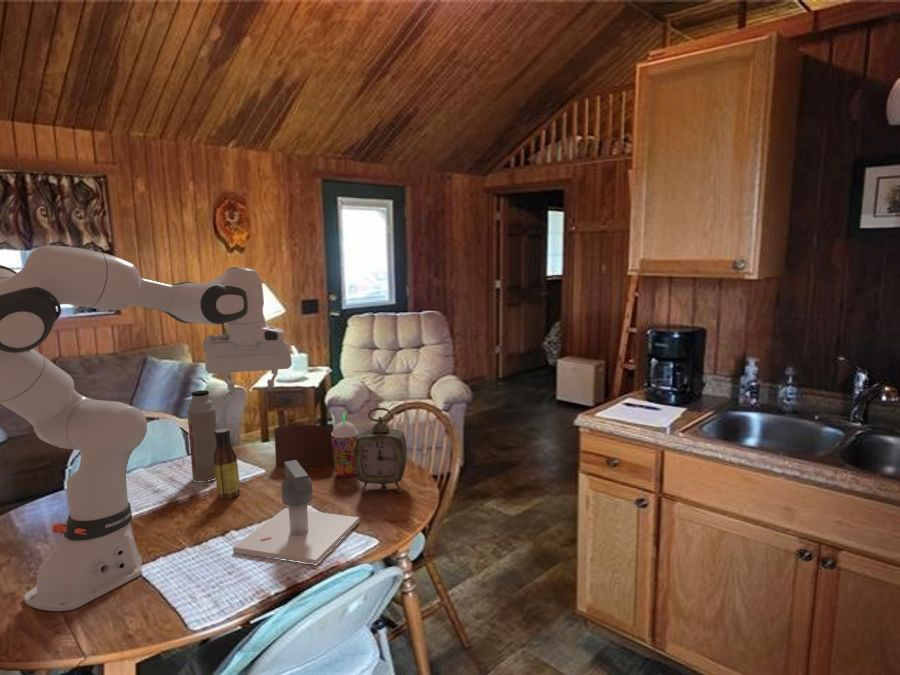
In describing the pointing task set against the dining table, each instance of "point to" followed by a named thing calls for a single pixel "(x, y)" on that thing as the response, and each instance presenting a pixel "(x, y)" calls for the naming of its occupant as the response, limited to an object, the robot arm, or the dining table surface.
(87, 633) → the dining table surface
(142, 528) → the dining table surface
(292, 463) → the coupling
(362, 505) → the dining table surface
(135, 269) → the robot arm
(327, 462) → the letter holder
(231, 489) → the sauce bottle
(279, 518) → the base
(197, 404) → the thermos bottle
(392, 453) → the tabletop clock
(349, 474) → the smoothie
